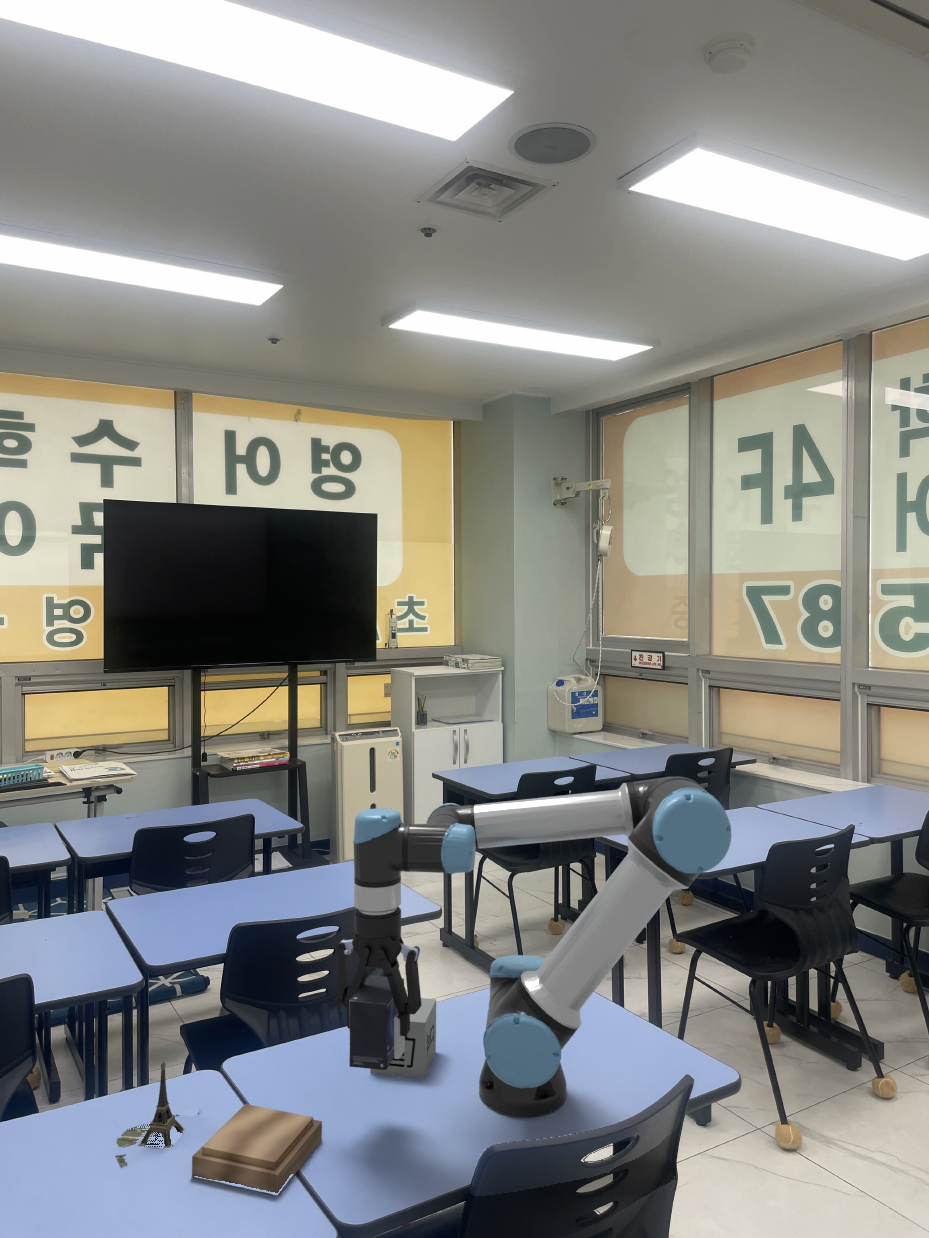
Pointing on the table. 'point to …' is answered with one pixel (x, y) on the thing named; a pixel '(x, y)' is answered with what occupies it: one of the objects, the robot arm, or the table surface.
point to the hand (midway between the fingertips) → (378, 1051)
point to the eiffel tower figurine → (152, 1124)
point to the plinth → (258, 1148)
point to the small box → (372, 1024)
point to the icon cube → (416, 1044)
